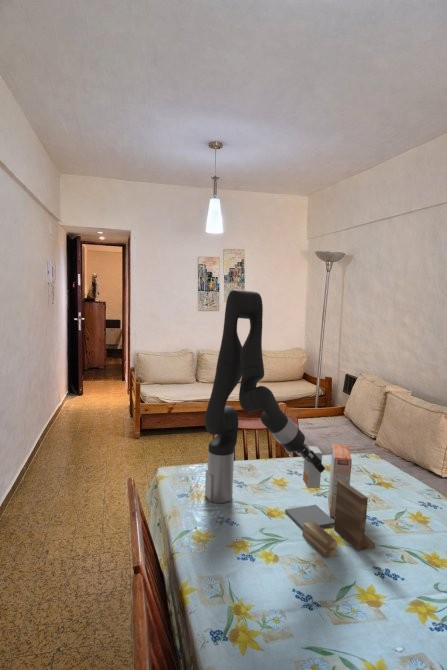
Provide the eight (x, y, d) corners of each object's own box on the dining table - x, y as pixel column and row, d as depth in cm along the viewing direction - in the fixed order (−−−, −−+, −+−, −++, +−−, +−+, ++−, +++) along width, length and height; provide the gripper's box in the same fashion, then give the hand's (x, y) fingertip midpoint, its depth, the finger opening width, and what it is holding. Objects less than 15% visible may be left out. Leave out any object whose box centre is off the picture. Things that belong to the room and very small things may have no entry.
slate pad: (303, 530, 134) (303, 527, 134) (285, 512, 145) (285, 509, 145) (335, 525, 138) (335, 522, 138) (315, 507, 149) (315, 504, 149)
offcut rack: (324, 558, 120) (327, 503, 119) (302, 535, 132) (305, 485, 130) (375, 547, 127) (379, 495, 125) (349, 526, 138) (353, 478, 136)
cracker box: (348, 520, 142) (352, 459, 140) (329, 517, 143) (333, 457, 141) (345, 500, 155) (348, 444, 153) (327, 498, 156) (331, 443, 154)
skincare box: (302, 480, 143) (304, 445, 142) (314, 480, 144) (317, 446, 143) (307, 488, 137) (310, 452, 136) (320, 488, 138) (323, 452, 137)
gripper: (307, 432, 129) (337, 466, 135) (284, 418, 143) (312, 449, 148) (290, 450, 128) (321, 484, 133) (269, 434, 141) (298, 465, 147)
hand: (316, 465), depth 141 cm, fingers closed on skincare box, 6 cm apart
